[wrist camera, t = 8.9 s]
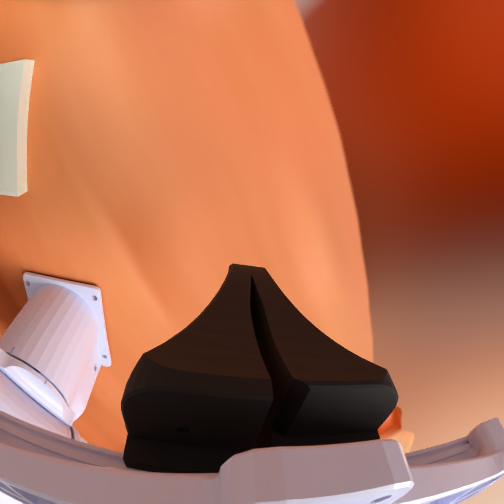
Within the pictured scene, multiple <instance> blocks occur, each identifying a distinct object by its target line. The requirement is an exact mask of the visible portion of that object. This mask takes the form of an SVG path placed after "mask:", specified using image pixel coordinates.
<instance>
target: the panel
mask: <svg viewBox="0 0 504 504" xmlns="http://www.w3.org/2000/svg"><path fill="white" fill-rule="evenodd" d="M34 62H35V60H26V59H24V60H18V61H13V62H7V63H2V64H0V195H8V196H16V197H19V196H20V195H22V194H24V193H25V192H27V125H28V110H29V99H30V90H31V82H32V74H33V68H34Z"/></svg>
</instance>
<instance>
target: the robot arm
mask: <svg viewBox="0 0 504 504" xmlns="http://www.w3.org/2000/svg"><path fill="white" fill-rule="evenodd" d="M23 281H24V285H25V289H26V293H27V297H28V302H27V303H26V304H25V305H24V307H23V308H22V309H21V311H20V312H19V313H18V315H17V316H16V317H15V319H14V320H13V322H12V323H11V324H10V326H9V327H8V329H7V330H6V331H5V333H4V334H3V336H2V337H1V339H0V504H458V503H460V502H462V501H464V500H466V499H468V498H470V497H472V496H474V495H476V494H478V493H479V492H481V491H482V490H484V489H485V488H487V487H488V486H490V485H491V484H493V483H494V482H495V481H497V480H498V479H499V478H501V477H502V476H503V475H504V428H503V426H502V424H501V423H500V421H499V419H498V418H493V419H491V420H488V421H485V422H483V423H481V424H479V425H477V426H476V427H475V428H474V429H473V430H472V431H471V432H470V433H469V434H468V435H467V436H466V437H463V438H460V439H457V440H454V441H451V442H448V443H444V444H441V445H437V446H434V447H430V448H426V449H423V450H418V451H414V452H410V453H405V454H404V451H403V449H402V446H401V445H400V444H399V442H398V441H396V440H392V439H380V437H379V434H378V431H377V429H378V428H379V427H380V426H381V425H382V423H383V422H384V421H385V420H386V419H387V418H388V416H389V415H390V414H391V413H392V411H393V410H394V408H395V407H396V405H397V402H398V394H397V391H396V388H395V386H394V384H393V382H392V380H391V377H390V375H389V373H388V371H387V370H386V369H385V368H382V367H380V366H378V365H376V364H374V363H372V362H369V361H367V360H365V359H363V358H361V357H359V356H358V355H356V354H354V353H352V352H351V351H349V350H347V349H345V348H344V347H342V346H341V345H339V344H338V343H336V342H335V341H333V340H332V339H331V338H329V337H328V336H327V335H325V334H324V333H323V332H321V331H320V330H319V329H318V328H316V327H315V326H314V325H313V324H312V323H311V322H310V321H309V320H307V319H306V318H305V317H304V316H303V315H302V314H301V313H300V312H299V311H298V309H297V308H296V307H295V306H294V305H293V304H292V303H291V302H290V301H289V299H288V298H287V297H286V296H285V295H284V293H283V292H282V291H281V290H280V288H279V287H278V286H277V284H276V283H275V281H274V280H273V279H272V277H271V276H270V274H269V273H268V272H267V270H266V269H265V268H262V267H254V266H247V265H239V264H232V265H230V266H229V271H228V274H227V277H226V279H225V281H224V283H223V284H222V286H221V288H220V290H219V291H218V293H217V294H216V295H215V297H214V298H213V300H212V301H211V302H210V304H209V305H208V306H207V307H206V308H205V309H204V311H203V312H202V313H201V314H200V315H199V316H198V317H197V318H196V319H195V320H194V321H193V322H191V323H190V324H189V325H188V326H187V327H186V328H185V329H183V330H182V331H181V332H179V333H178V334H176V335H175V336H173V337H172V338H171V339H169V340H168V341H166V342H165V343H163V344H161V345H159V346H157V347H156V348H154V349H152V350H150V351H148V352H146V353H144V354H143V355H142V356H141V358H140V359H139V361H138V362H137V364H136V366H135V368H134V369H133V371H132V373H131V375H130V377H129V379H128V382H127V384H126V387H125V390H124V394H123V397H122V401H121V411H122V415H123V418H124V422H125V426H126V429H127V432H128V436H127V440H126V445H125V450H124V453H122V452H118V451H114V450H110V449H106V448H102V447H98V446H95V445H91V444H88V443H84V442H81V440H80V435H79V432H78V430H77V429H76V428H75V427H74V426H72V424H73V421H74V420H76V419H77V418H78V417H79V416H80V415H81V414H82V413H83V412H84V410H85V408H86V405H87V402H88V399H89V396H90V394H91V391H92V388H93V385H94V383H95V380H96V377H97V375H98V372H99V369H100V367H101V365H102V366H107V367H108V366H110V365H111V357H110V351H109V346H108V340H107V334H106V327H105V321H104V313H103V306H102V297H101V291H100V289H99V288H98V287H97V286H94V285H89V284H83V283H78V282H73V281H68V280H63V279H58V278H53V277H49V276H44V275H39V274H35V273H30V272H25V273H24V274H23ZM94 296H96V297H97V298H95V297H94Z"/></svg>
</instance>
